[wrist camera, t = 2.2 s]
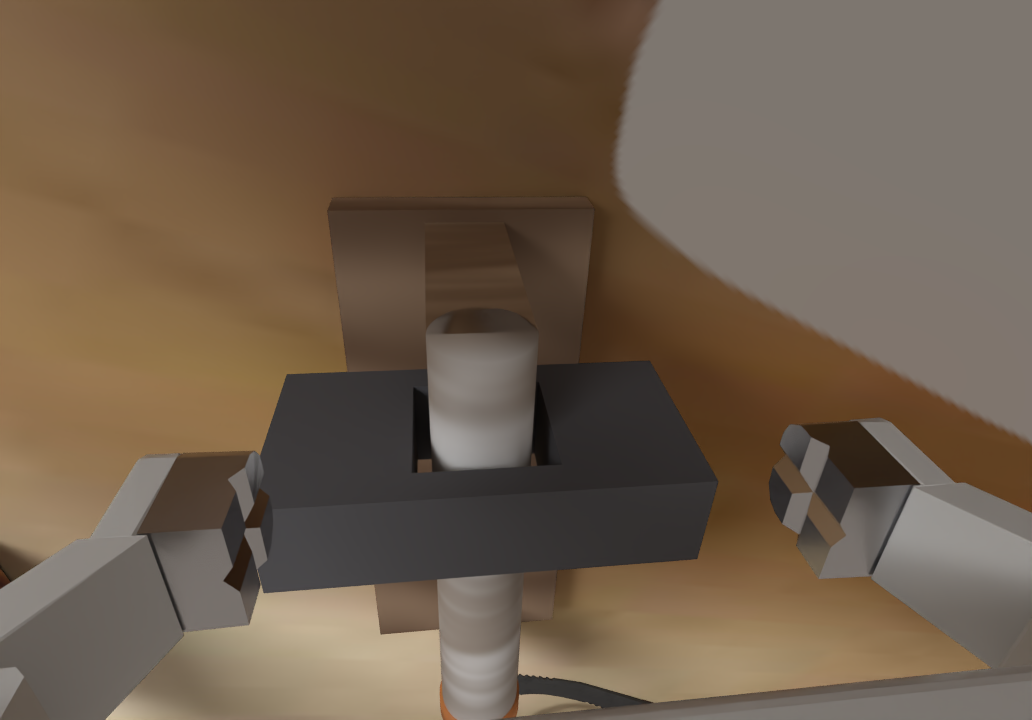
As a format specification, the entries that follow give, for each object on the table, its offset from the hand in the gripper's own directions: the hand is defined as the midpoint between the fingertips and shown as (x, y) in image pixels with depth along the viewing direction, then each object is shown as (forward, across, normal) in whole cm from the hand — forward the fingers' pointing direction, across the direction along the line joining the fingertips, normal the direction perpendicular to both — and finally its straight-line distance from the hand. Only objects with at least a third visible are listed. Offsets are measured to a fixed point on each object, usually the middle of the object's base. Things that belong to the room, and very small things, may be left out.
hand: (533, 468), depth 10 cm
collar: (+10, 0, +6) cm, 12 cm away
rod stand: (+18, 0, +13) cm, 22 cm away
